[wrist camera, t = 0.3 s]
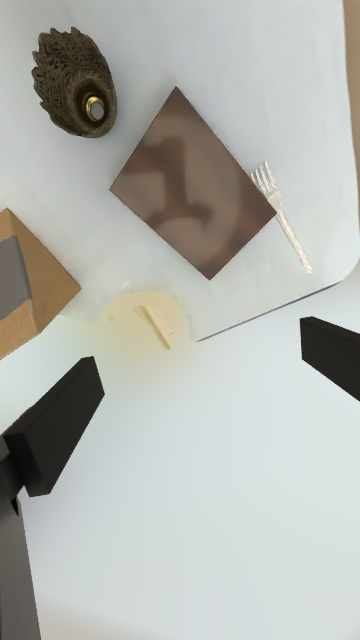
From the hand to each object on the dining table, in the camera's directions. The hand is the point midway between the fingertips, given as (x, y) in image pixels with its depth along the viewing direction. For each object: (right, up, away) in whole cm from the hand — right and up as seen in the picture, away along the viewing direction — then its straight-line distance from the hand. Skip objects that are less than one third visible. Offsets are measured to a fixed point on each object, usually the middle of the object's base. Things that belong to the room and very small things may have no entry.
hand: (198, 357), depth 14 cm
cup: (-12, +29, +14) cm, 34 cm away
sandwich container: (-26, +12, +23) cm, 37 cm away
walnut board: (+1, +20, +19) cm, 28 cm away
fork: (+16, +17, +22) cm, 32 cm away
